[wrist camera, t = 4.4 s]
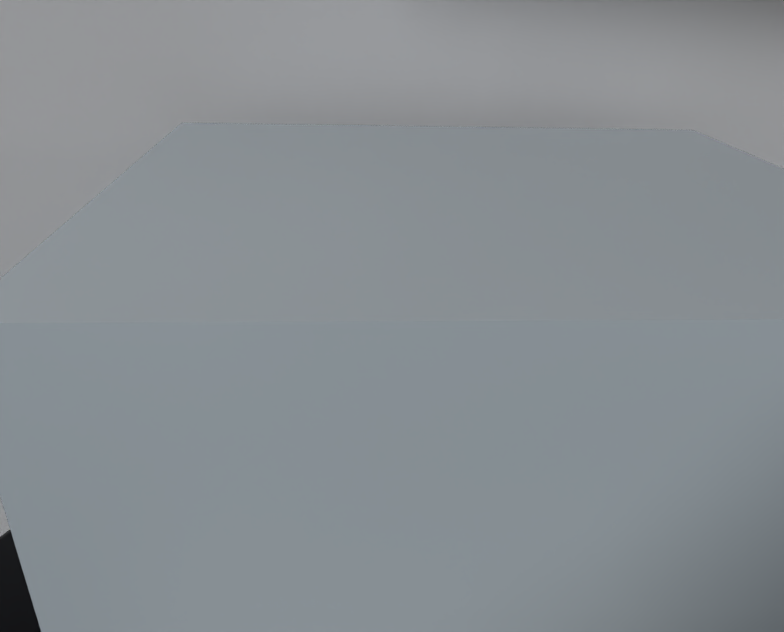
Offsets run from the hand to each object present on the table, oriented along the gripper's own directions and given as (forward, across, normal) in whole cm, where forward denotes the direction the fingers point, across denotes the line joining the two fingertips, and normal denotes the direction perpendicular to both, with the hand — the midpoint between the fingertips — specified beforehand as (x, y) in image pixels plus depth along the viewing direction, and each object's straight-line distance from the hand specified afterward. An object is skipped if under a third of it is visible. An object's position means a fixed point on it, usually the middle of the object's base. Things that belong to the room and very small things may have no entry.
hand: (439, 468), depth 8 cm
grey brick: (+1, 0, 0) cm, 1 cm away
